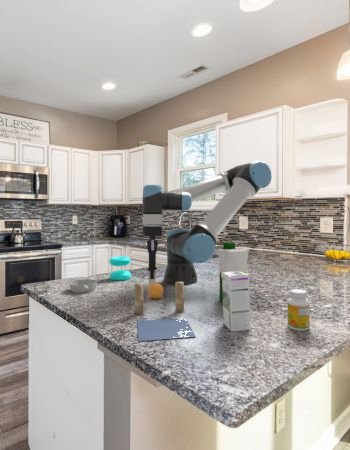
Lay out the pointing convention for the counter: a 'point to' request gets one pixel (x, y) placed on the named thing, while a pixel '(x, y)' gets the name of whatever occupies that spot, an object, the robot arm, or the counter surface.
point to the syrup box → (236, 300)
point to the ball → (155, 290)
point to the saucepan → (83, 285)
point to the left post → (139, 299)
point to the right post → (179, 296)
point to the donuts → (120, 273)
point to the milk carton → (231, 261)
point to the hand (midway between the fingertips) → (151, 286)
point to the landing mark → (162, 329)
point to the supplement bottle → (298, 310)
